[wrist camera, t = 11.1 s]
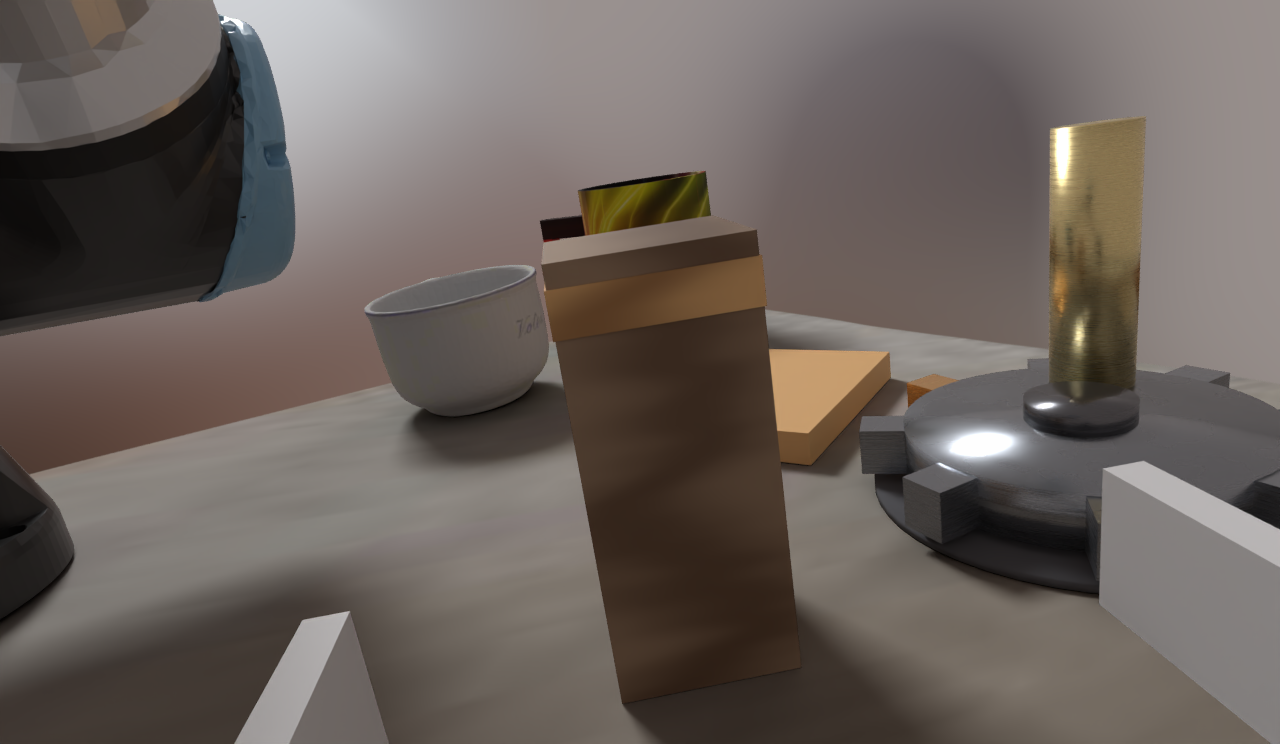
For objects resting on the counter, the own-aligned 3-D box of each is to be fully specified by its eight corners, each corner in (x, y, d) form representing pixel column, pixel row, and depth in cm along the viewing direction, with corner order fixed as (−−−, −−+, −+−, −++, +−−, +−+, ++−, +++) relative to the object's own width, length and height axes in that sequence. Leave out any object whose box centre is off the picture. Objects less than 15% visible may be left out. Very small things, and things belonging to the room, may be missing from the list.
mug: (561, 335, 65) (536, 194, 62) (721, 314, 64) (704, 169, 61) (541, 366, 56) (510, 203, 53) (727, 343, 55) (707, 173, 51)
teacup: (571, 405, 46) (547, 276, 44) (389, 446, 44) (354, 312, 41) (538, 356, 59) (519, 254, 57) (397, 386, 57) (371, 281, 55)
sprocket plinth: (821, 546, 26) (820, 538, 26) (925, 404, 38) (925, 398, 38) (1391, 647, 18) (1393, 636, 18) (1308, 427, 29) (1309, 420, 29)
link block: (620, 705, 20) (539, 264, 17) (607, 600, 25) (542, 242, 22) (803, 668, 21) (759, 229, 17) (755, 571, 26) (714, 215, 22)
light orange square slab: (593, 440, 40) (588, 413, 39) (703, 369, 49) (700, 347, 48) (810, 465, 33) (808, 433, 32) (890, 377, 42) (889, 351, 42)
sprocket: (1161, 659, 18) (1190, 145, 15) (785, 466, 32) (756, 174, 28) (1465, 471, 24) (1535, 70, 21) (1037, 376, 37) (1038, 123, 34)
